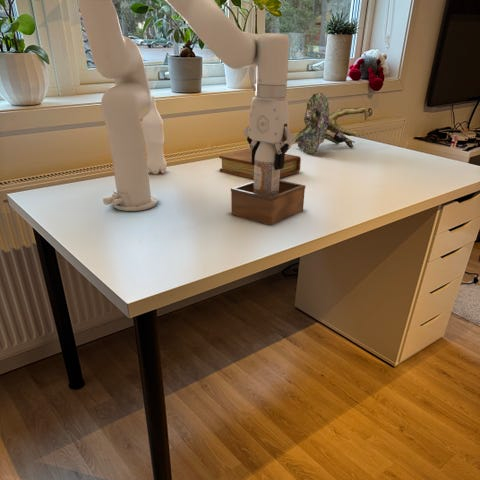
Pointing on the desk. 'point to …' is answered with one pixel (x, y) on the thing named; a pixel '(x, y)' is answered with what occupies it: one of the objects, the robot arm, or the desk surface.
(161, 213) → the desk surface
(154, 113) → the water bottle
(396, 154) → the desk surface
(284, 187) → the open wooden box
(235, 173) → the diary
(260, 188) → the bath foam
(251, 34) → the robot arm
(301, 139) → the tree stump
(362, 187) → the desk surface
